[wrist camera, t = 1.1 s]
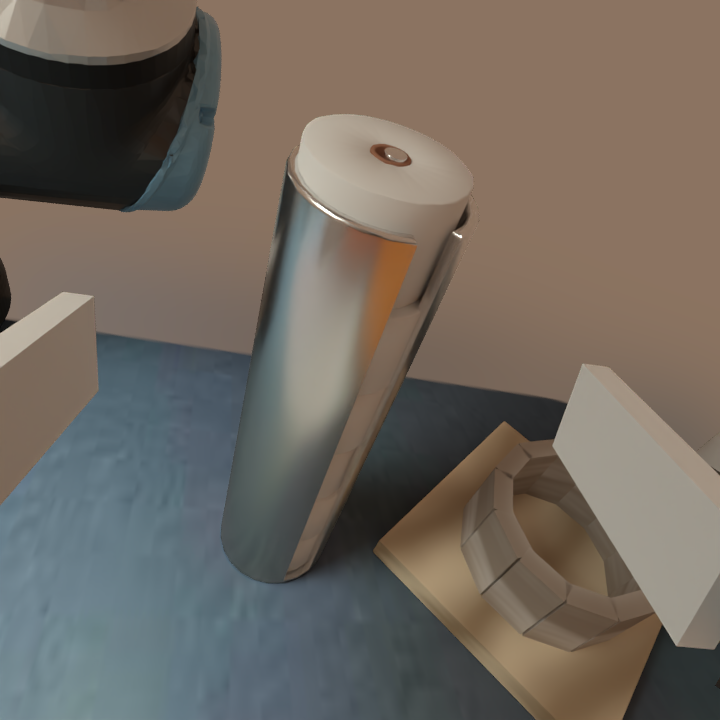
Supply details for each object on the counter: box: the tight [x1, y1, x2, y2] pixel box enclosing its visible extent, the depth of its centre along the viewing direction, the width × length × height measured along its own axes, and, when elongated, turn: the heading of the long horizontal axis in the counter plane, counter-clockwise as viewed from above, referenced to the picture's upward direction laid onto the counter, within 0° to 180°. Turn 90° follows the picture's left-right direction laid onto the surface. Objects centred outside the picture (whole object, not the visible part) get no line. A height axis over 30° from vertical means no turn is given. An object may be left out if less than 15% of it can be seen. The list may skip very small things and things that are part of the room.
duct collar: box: [373, 421, 662, 720], centre depth 35 cm, size 16×16×6 cm
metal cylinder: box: [221, 114, 479, 583], centre depth 25 cm, size 6×6×25 cm
